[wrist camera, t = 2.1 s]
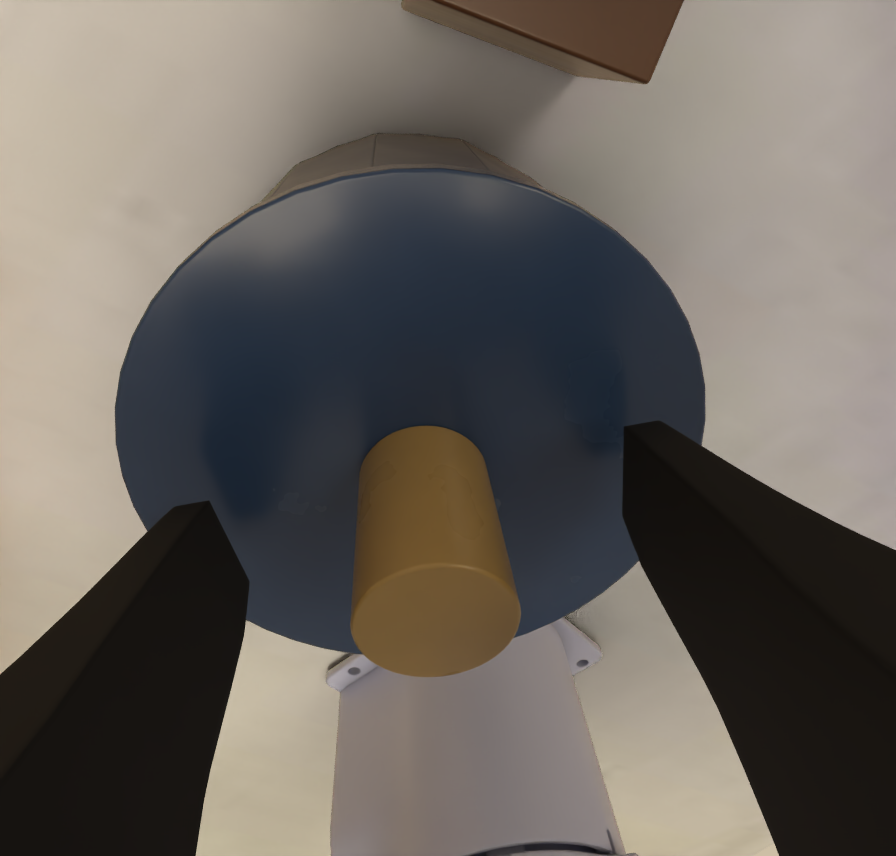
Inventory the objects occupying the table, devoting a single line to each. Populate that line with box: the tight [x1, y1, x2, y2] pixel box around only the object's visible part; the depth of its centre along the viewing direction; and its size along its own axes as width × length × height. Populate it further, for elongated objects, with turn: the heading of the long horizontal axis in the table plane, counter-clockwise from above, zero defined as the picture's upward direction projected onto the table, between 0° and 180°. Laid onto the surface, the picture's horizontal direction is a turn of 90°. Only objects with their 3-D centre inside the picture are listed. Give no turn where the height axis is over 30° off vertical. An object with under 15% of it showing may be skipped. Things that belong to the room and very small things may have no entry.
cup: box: [261, 133, 543, 202], centre depth 14 cm, size 10×10×7 cm
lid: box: [115, 164, 705, 677], centre depth 10 cm, size 11×11×4 cm
